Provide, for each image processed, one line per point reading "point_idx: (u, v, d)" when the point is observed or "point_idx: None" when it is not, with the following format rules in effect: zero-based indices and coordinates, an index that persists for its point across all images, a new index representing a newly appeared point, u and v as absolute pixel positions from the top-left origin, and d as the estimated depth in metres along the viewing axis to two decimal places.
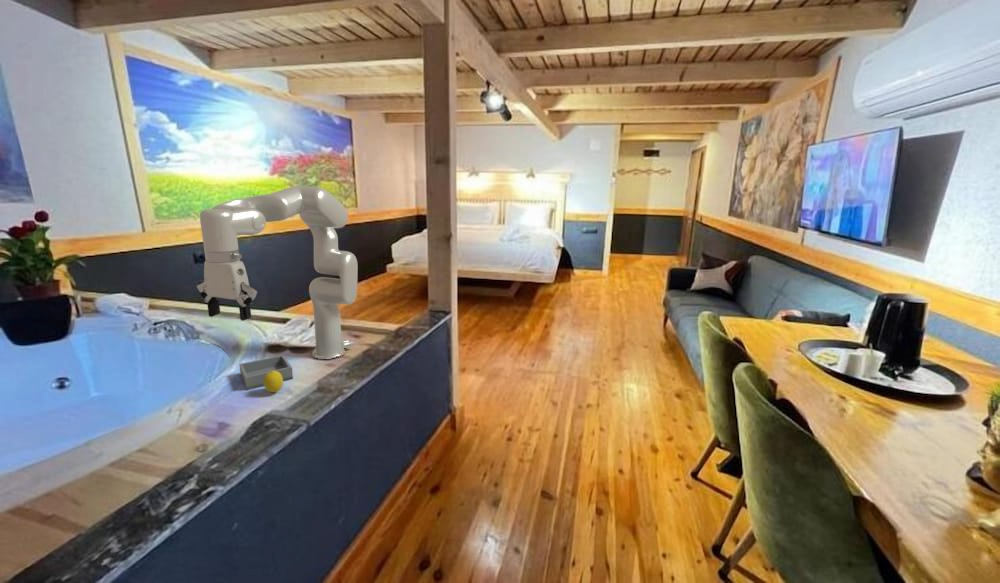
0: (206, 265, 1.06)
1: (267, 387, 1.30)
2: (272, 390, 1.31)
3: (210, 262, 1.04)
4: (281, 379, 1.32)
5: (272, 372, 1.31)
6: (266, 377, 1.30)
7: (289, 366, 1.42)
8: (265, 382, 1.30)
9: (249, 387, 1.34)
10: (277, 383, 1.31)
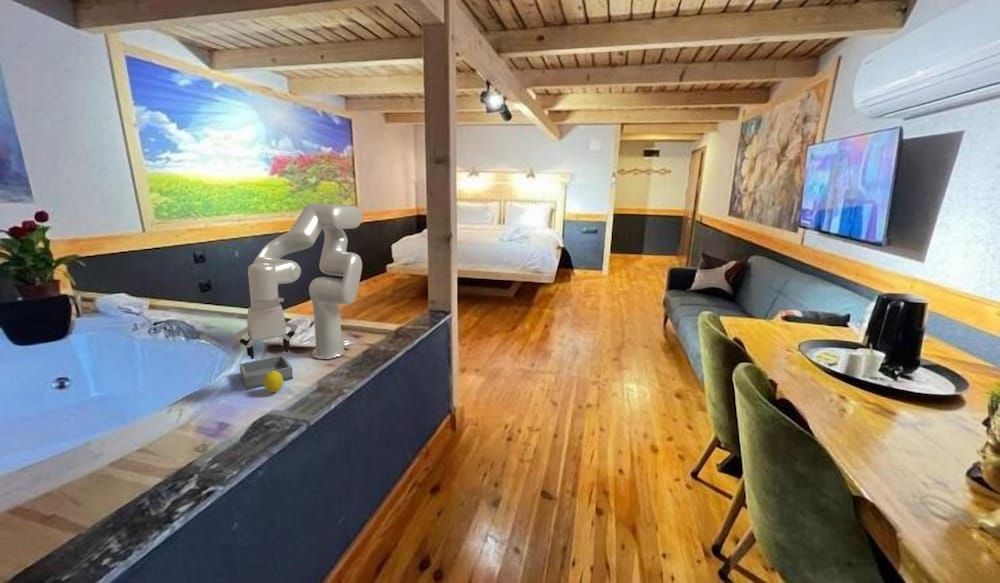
0: (255, 313, 1.22)
1: (267, 387, 1.30)
2: (272, 390, 1.31)
3: (267, 309, 1.22)
4: (281, 379, 1.32)
5: (272, 372, 1.31)
6: (266, 377, 1.30)
7: (289, 366, 1.42)
8: (265, 382, 1.30)
9: (249, 387, 1.34)
10: (277, 383, 1.31)
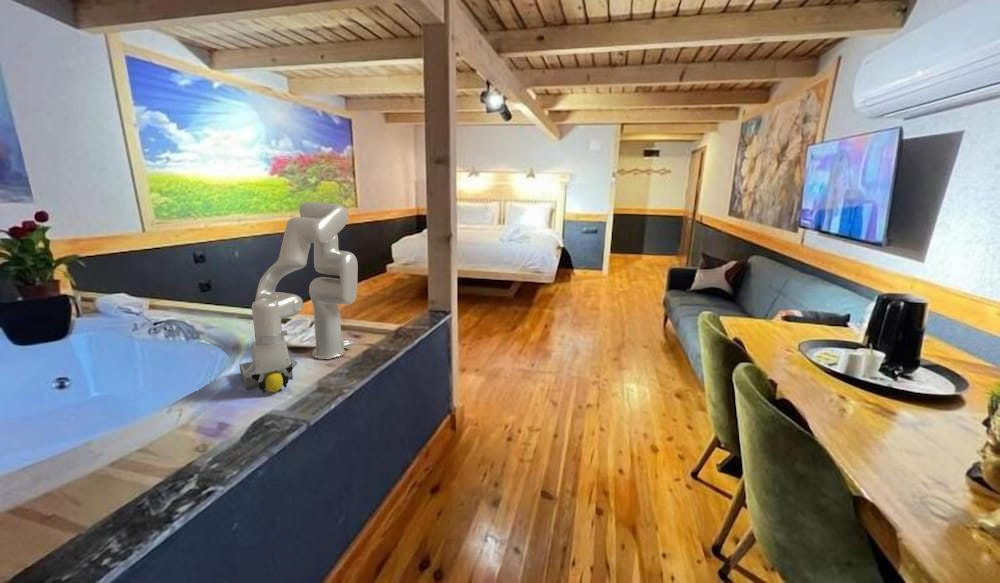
0: (260, 348, 1.25)
1: (267, 387, 1.30)
2: (272, 390, 1.31)
3: (270, 344, 1.26)
4: (281, 379, 1.32)
5: (272, 372, 1.31)
6: (266, 377, 1.30)
7: None
8: (265, 382, 1.30)
9: (249, 387, 1.34)
10: (277, 383, 1.31)
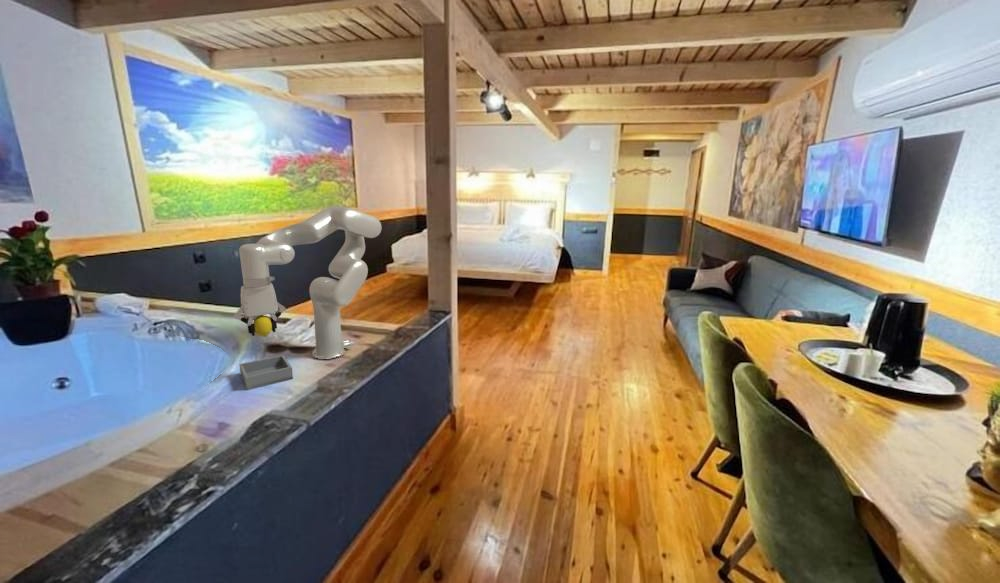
0: (248, 291, 1.29)
1: (256, 330, 1.34)
2: (261, 333, 1.35)
3: (258, 287, 1.30)
4: (270, 323, 1.37)
5: (261, 316, 1.35)
6: (255, 321, 1.34)
7: (289, 366, 1.42)
8: (254, 325, 1.34)
9: (249, 387, 1.34)
10: (266, 326, 1.35)
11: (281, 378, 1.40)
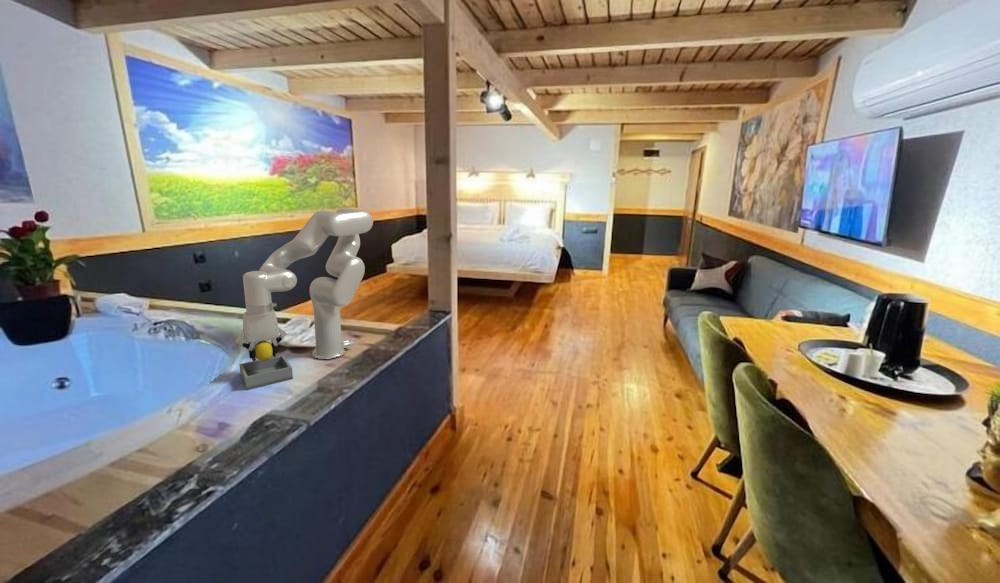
0: (250, 317, 1.32)
1: (257, 355, 1.37)
2: (262, 358, 1.38)
3: (260, 314, 1.33)
4: (271, 348, 1.39)
5: (262, 341, 1.38)
6: (256, 346, 1.37)
7: (289, 366, 1.42)
8: (255, 351, 1.37)
9: (249, 387, 1.34)
10: (266, 352, 1.37)
11: (281, 378, 1.40)
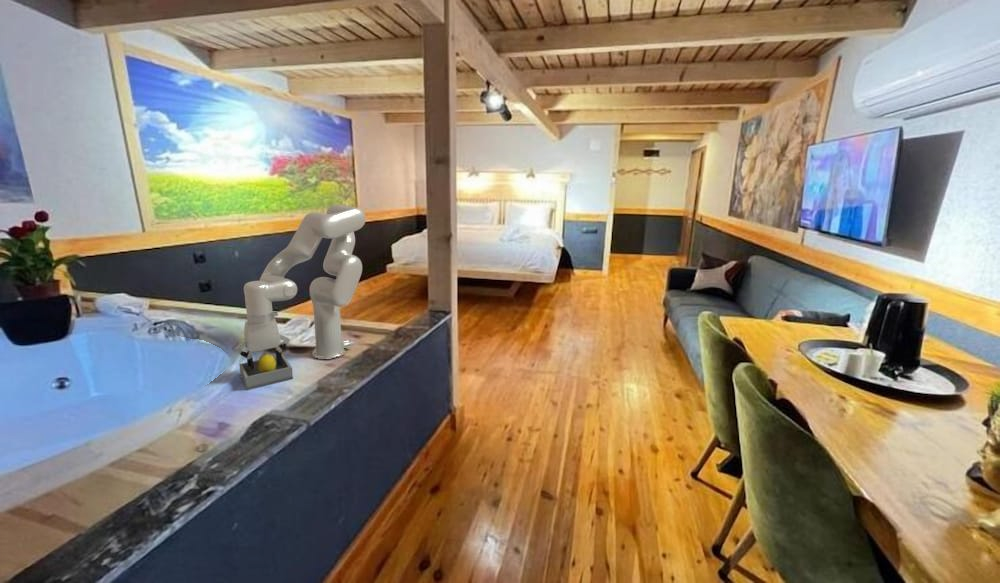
0: (251, 327, 1.33)
1: (261, 369, 1.39)
2: None
3: (262, 323, 1.34)
4: (274, 362, 1.41)
5: (266, 355, 1.40)
6: (260, 360, 1.39)
7: (289, 366, 1.42)
8: (259, 364, 1.39)
9: (249, 387, 1.34)
10: (270, 365, 1.39)
11: (281, 378, 1.40)
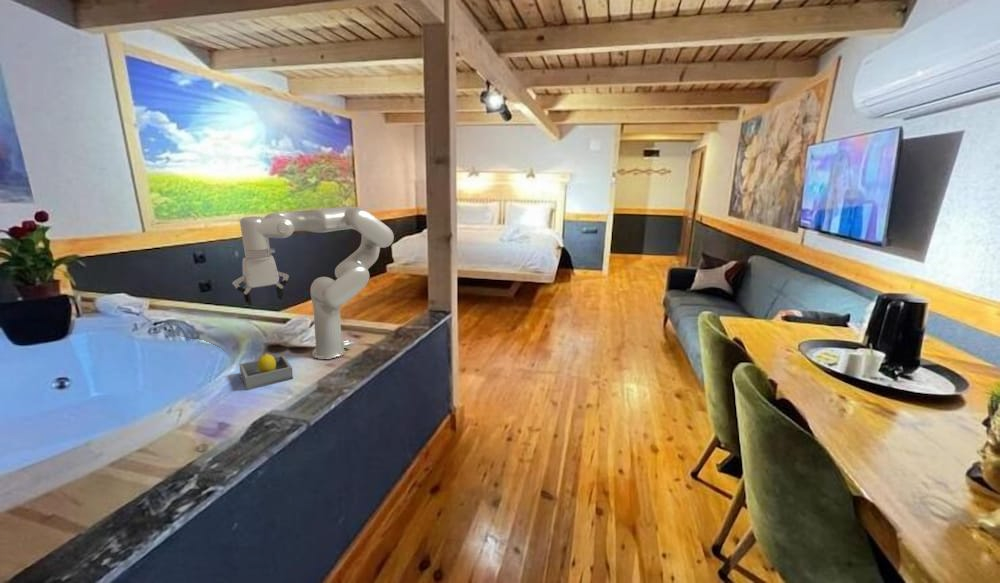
0: (250, 262, 1.34)
1: (261, 369, 1.39)
2: None
3: (260, 258, 1.35)
4: (274, 362, 1.41)
5: (265, 355, 1.40)
6: (260, 360, 1.39)
7: (289, 366, 1.42)
8: (259, 364, 1.39)
9: (249, 387, 1.34)
10: (270, 365, 1.39)
11: (281, 378, 1.40)
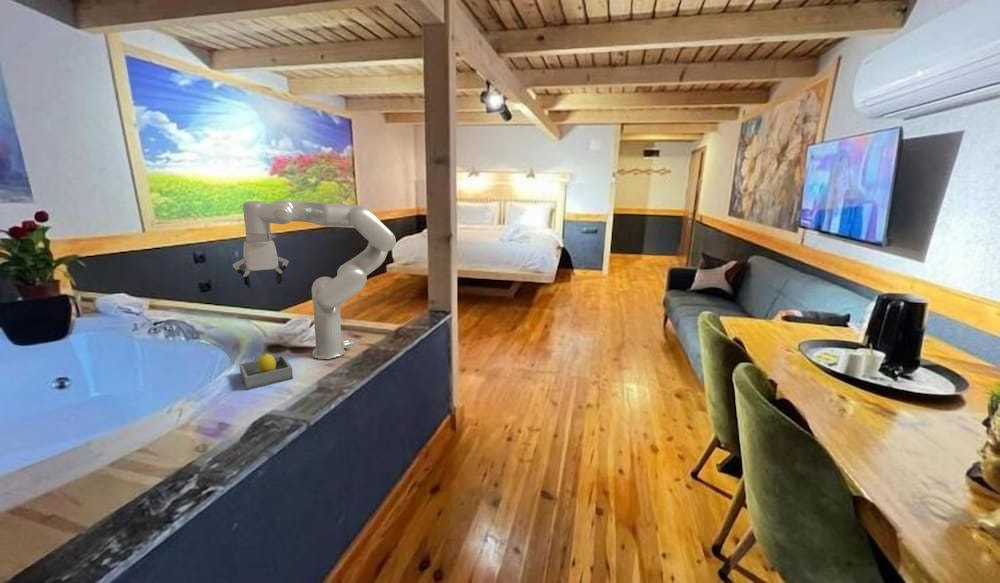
0: (250, 245, 1.38)
1: (261, 369, 1.39)
2: None
3: (260, 242, 1.38)
4: (274, 362, 1.41)
5: (265, 355, 1.40)
6: (260, 360, 1.39)
7: (289, 366, 1.42)
8: (259, 364, 1.39)
9: (249, 387, 1.34)
10: (270, 365, 1.39)
11: (281, 378, 1.40)
